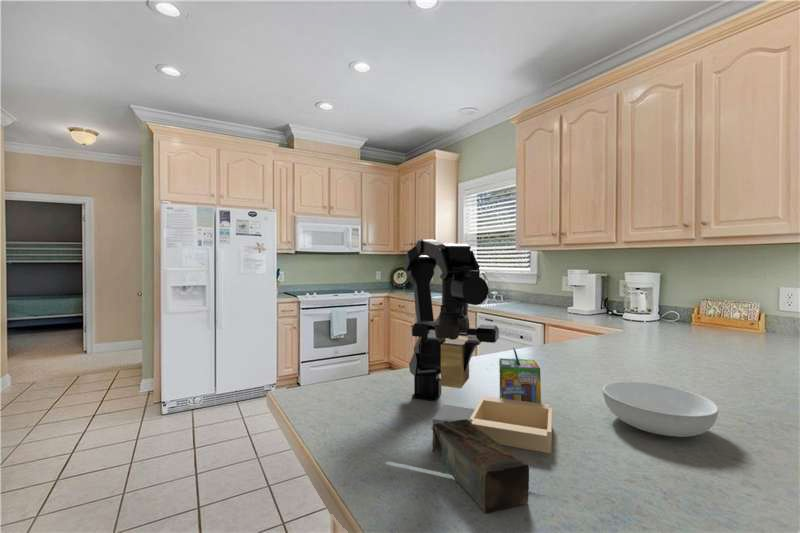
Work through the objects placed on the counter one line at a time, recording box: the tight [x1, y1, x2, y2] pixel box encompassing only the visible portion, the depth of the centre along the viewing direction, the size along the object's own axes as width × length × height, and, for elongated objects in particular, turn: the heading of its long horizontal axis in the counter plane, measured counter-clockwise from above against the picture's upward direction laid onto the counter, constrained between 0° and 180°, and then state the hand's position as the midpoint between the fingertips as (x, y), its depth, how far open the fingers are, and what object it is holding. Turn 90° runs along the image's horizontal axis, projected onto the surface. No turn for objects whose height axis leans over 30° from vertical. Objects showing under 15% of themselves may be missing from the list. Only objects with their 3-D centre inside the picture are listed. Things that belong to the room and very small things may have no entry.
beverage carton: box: [432, 419, 530, 514], centre depth 64 cm, size 8×19×7 cm, turn 20°
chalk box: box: [498, 347, 542, 404], centre depth 94 cm, size 9×9×15 cm
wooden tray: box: [470, 395, 553, 454], centre depth 79 cm, size 15×16×4 cm
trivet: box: [432, 404, 475, 425], centre depth 86 cm, size 8×9×2 cm
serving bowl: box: [602, 380, 719, 438], centre depth 83 cm, size 21×21×7 cm
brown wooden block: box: [440, 337, 470, 389], centre depth 85 cm, size 8×4×9 cm, turn 157°
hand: (454, 369), depth 85 cm, fingers closed on brown wooden block, 4 cm apart
